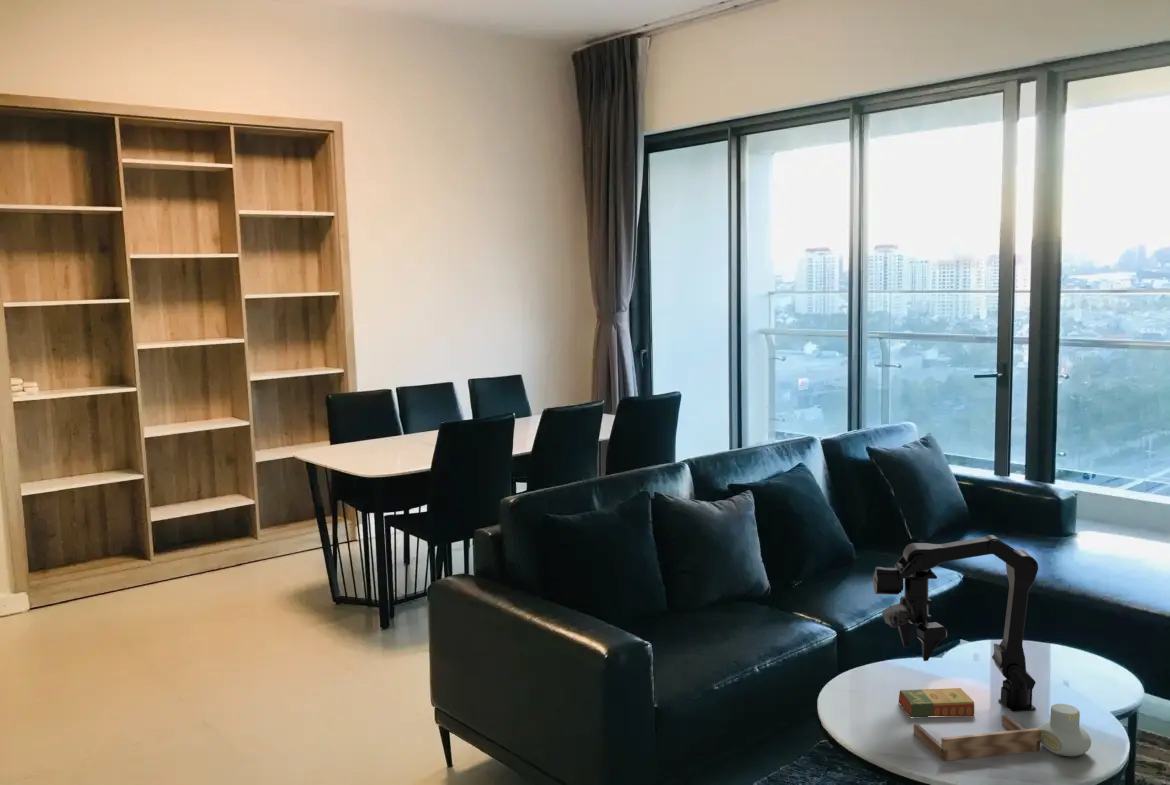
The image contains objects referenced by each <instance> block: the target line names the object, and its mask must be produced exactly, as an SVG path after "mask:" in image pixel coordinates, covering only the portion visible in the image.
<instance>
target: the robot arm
mask: <svg viewBox="0 0 1170 785" xmlns="http://www.w3.org/2000/svg"><path fill="white" fill-rule="evenodd" d="M988 555H993V556H995V557H996V558H998V559H999V560H1001V561H1003V562H1004V563H1005V569H1006V575H1007V578H1008V579H1007V580H1008V584H1009V585H1008V586H1009V587H1008V596H1007V603H1006V612H1005V619H1004V621H1005V622H1004V628H1003V637H1002V640H1001V642H1000V643H999V644H997V643H993V654H992V656H991V659H992V660H993V662H994V665H995V666H996V668H997V670H999V672H1000V673H1001V675H1002V676H1003V677H1004V679H1005V680H1002V686H1001V688H1000V698H998V699H997V700H998V703H1000V704H1001V705H1002V706H1004V707H1005V708H1007V709H1009V710H1010V711H1011V712H1014V713H1015V712H1025V711H1026V712H1027V711H1035V710H1036V709H1037V707H1036V706H1035V705H1033V689H1034V688H1035V685H1036V683H1037V682H1036V681H1035V679H1034V678H1033V676H1032V675H1030V673H1029V672H1028V671H1027V664H1026V656H1025V652H1024V648H1023V642H1024V632H1025V624H1026V615H1027V608H1028V607H1027V606H1028V602H1029V601H1028V600H1029V591H1030V590H1031V588H1032V586H1033V584H1034V583H1035V580H1036V578H1037V575H1038V571H1039V564H1038V562H1037V560H1036V559H1035V558H1034V557H1033V556H1032V555H1030V554H1029V553H1028V552H1026V550H1024V549H1019V548H1018V549H1016V548H1015V549H1014V548H1013V547H1012V546H1010V545H1009V544H1007V543H1006V542H1004V541H1002V540H1000V539H999V538H998V537H997V536H996V535H993V534H988V535H985V536H981V537H976V538H970V539H964V540H957V541H952V542H946V543H930V542H929V543H928V542H914V543H913V542H912V543H908V544H907V545H906V546H905V548H904V549H903V551H902V556H901V557H899V560H897V562H896V563H895V564H894V567H883V566H876V567H875V568H874V570H875V571H874V573H873V577H872V586H873V592H874V595H886V596H887V595H895V596H897V595H898V596H899V595H900V594H901V593H902V592H903V591H904V594H903V596H900V598H899V603H897V604H891V605H889V607H887V608H885V609H883V610H882V611H881V614H882V616H883V619H884V622H885V624H886V625H889V627H891V628H897V630H898V633H899V635H900V639H901V642H902V646H903V648H904V649H907V648H909V646H910V644H911V640H912V636H913V632H914V629H915V626H916V634H917V635H916V638H917V639H918V640H919V641H920V643H921V653H922V659H923V661H924V662H928V661H929V659H930V658H931V656H932V654H933V653H934V651H935V649H936V648H937V645H939V643H940V642H941V641H942V640H944V639H947V637H948V629H947V628H946V627H945V626H943V625H942V624H940V623H938V622H936V621H935V622H934V621H933V622H928V621H932V615H930V614H929V605H932V604H933V600H932V599H930V598H929V584H930V583H929V580H936V579H938V575H937V574H936V572H934V571H933V570H932V569H934V568H935V567H937V566H939V565H940V564H943V563H946V562H951V561H958V560H963V559H969V558H975V557H982V556H988Z"/></svg>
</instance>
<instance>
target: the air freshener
mask: <svg viewBox="0 0 1170 785" xmlns="http://www.w3.org/2000/svg"><path fill="white" fill-rule="evenodd" d="M1080 714H1081V712H1080V710H1079V708H1077V707H1076V706H1073V705H1071V704H1067V703H1055V704H1052V705H1051V706H1050V716H1049V717H1050V719H1049V720H1048V721H1046V722H1045V723H1042V724H1041V725H1040V726H1039V727H1038V728H1039V729H1041V743H1040V744H1041V745H1042V746H1043V747H1044V748H1046V749H1047V751H1050V753H1052V754H1055V755H1058V756H1063V757H1077V756H1081V755H1084V754H1086V753H1087V752H1089V750H1090V749H1091V746H1092V739H1091V736H1090V735H1089V733H1088V732H1087V731H1086V730H1085V729H1084V728H1082V727H1081V726H1080V719H1081V718H1080Z"/></svg>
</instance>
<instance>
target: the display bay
mask: <svg viewBox="0 0 1170 785" xmlns="http://www.w3.org/2000/svg"><path fill="white" fill-rule="evenodd" d="M1001 726H1002V727H1004V728H1005V729H1006V730H1004V731H1003V730H1002V731H993V732H985V733H982V732H981V733H974V734H965V735H963V734H962V735H952V736H946V737H941V743H940V741H938V740H937V739H936V738H935V737H934V736H932V735H931V734H930V733H929V732H928V731H927V730H926V729H924V727H922V726H921V725H920V724H919V723H915V724H913V735H914V736H915V735H916V736H915V737H916V738H917V737H918V738H919V739H918V740H919V741H920V742H922V743H923V744H924V745H925V746H926V747H928V749H929V750H931V751H932V752H933V753H934V754H935V755H936V756H937V757H938V758H939V759H941V761H943V762H947V761H956V760H964V759H965V760H966V759H973V758H974V759H975V758H983V757H985V758H986V757H993V756H995V757H996V756H1004V755H1010V754H1011V755H1013V754H1020V753H1021V754H1022V753H1030V752H1040V751H1041V744H1042V743H1041V729H1039V728H1040V727H1034V728H1025V727H1023V726H1022V725H1020V724H1019V723H1018V722H1016V721H1015V720H1014V719H1012V718H1010V717H1009V716H1008V715H1006V714H1005V715H1002V718H1001Z"/></svg>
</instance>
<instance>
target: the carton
mask: <svg viewBox="0 0 1170 785" xmlns="http://www.w3.org/2000/svg"><path fill="white" fill-rule="evenodd" d="M899 703H900V704H901V706H902V707H903V708H904V709H903V708H902V707H901V706H900V707H901V708H902V709H903V710H905V711H906V712H907V713H908V714H909V715H908V714H907V713H906V712H905V711H904V712H905V713H906V714H907V715H908V717H909V716H910V717H928V716H968V717H975V701H974V700H973V699H972V698H971V696H969V695H968V694H967V693H966V692H965V691H964V690H963V689H962V688H960V687H959V688H958V687H957V688H932V689H930V688H929V689H928V688H927V689H906V690H905V689H904V690H903V689H901V690H899V692H898V704H899ZM910 717H909V718H910Z"/></svg>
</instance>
